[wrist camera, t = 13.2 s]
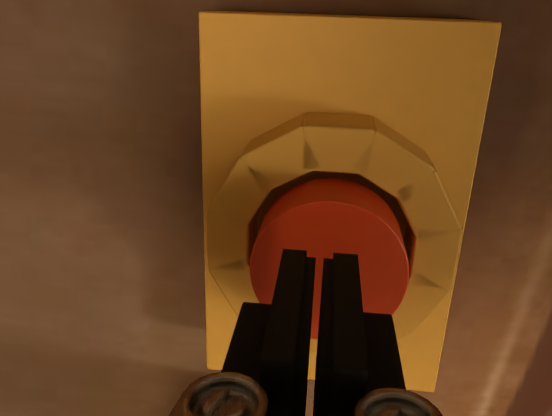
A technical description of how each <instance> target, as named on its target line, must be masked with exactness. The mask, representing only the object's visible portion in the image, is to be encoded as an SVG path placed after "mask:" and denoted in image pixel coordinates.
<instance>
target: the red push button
mask: <svg viewBox="0 0 552 416" xmlns="http://www.w3.org/2000/svg"><path fill="white" fill-rule="evenodd" d="M283 249H293V250H306V251H307V257H315V258H316V265H315V279H314V294H313V309H312V324H311V339H317V340H318V328H319V314H320V301H321V287H322V273H323V260H324V258H328V259H333V253H346V254H358V261H359V272H360V282H361V293H362V304H363V312H369V313H381V314H391V315H393V314H394V312H395V311H396V310H397V308H398V307H399V306H400V304H401V302H402V300H403V298H404V296H405V293H406V291H407V287H408V282H409V261H408V257H407V253H406V249H405V245H404V242H403V238H402V234H401V230H400V227H399V224H398V221H397V219H396V217H395V215H394V213H393V211H392V210H391V208H390V207H389V206H388V205H387V203H386V202H385V201H384V200H383V199H382V198H381V197H380V196H379V195H377V194H376V193H375V192H373V191H372V190H370V189H368V188H367V187H365V186H363V185H360V184H358V183H355V182H352V181H348V180H345V179H337V178H321V179H314V180H310V181H306V182H303V183H301V184H298V185H296V186H294V187H292V188H290V189H289V190H287V191H286V192H285V193H283V194H282V195H281V196H280V197H279V198H277V199H276V200H275V201H274V203H273V204H272V205H271V207H270V208H269V209H268V211H267V213H266V215H265V217H264V219H263V222H262V224H261V227H260V230H259V233H258V235H257V238H256V241H255V244H254V247H253V249H252V254H251V258H250V279H251V283H252V287H253V290H254V293H255V295H256V297H257V299H258V301H259V303H264V304H272V299H273V294H274V289H275V285H276V280H277V275H278V271H279V266H280V261H281V256H282V252H283Z"/></svg>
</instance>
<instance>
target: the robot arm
mask: <svg viewBox="0 0 552 416" xmlns="http://www.w3.org/2000/svg"><path fill="white" fill-rule="evenodd" d="M315 265H316V258H315V257H307V251H306V250H293V249H283V252H282V256H281V261H280V266H279V271H278V275H277V280H276V285H275V289H274V294H273V299H272V304H264V303H252V302H243V304H242V306H241V309H240V313H239V316H238V319H237V322H236V326H235V329H234V332H233V335H232V338H231V342H230V345H229V348H228V351H227V355H226V358H225V361H224V364H223V368H222V371H221V372H219V373H212V374H209V375H206V376H203V377H200V378H199V379H197V380H196V381H194V382H193V383H191V384H190V385H189V386H188V387H187V388H186V390H185V391H184V392H183V393H182V395H181V397H180V398H179V400H178V401H177V403H176V405H175V406H174V408H173V410H172V411H171V413H170V414H169V416H305V409H306V396H307V382H308V368H309V353H310V339H311V324H312V309H313V294H314V279H315ZM313 416H442V414H441V413H440V411H439V410H438V408H437V407H435V406H434V405H433V404H432V403H431V402H430V401H429V400H427V399H425V398H424V397H422V396H420V395H418V394H416V393H414V392H410V391H407V390H406V387H405V382H404V376H403V371H402V365H401V360H400V355H399V349H398V344H397V338H396V333H395V328H394V322H393V318H392V315H391V314H381V313H369V312H363V304H362V293H361V282H360V272H359V261H358V254H346V253H333V259H328V258H324V260H323V273H322V287H321V301H320V314H319V328H318V341H317V355H316V370H315V388H314V407H313Z"/></svg>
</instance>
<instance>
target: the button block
mask: <svg viewBox="0 0 552 416" xmlns="http://www.w3.org/2000/svg"><path fill="white" fill-rule="evenodd" d="M501 28H502V23H500V22H492V21H485V20H468V19H440V18H412V17H384V16H356V15H328V14H300V13H272V12H244V11H203V12H199V55H200V97H201V139H202V181H203V223H204V265H205V307H206V349H207V369H213V370H222V368H223V364H224V361H225V358H226V355H227V351H228V348H229V345H230V342H231V338H232V335H233V332H234V329H235V326H236V322H237V319H238V316H239V313H240V309H241V306H242V304H243V302H252V303H259V301H258V299H257V297H256V295H255V293H254V290H253V287H252V283H251V279H250V258H251V254H252V249H253V247H254V244H255V241H256V238H257V235H258V233H259V230H260V227H261V224H262V222H263V219H264V217H265V215H266V213H267V211H268V209H269V208H270V207H271V205H272V204H273V203H274V201H275V200H276V199H277V198H279V197H280V196H281V195H282V194H283V193H285V192H286V191H287V190H289V189H290V188H292V187H294V186H296V185H298V184H301V183H303V182H306V181H310V180H314V179H321V178H337V179H345V180H348V181H352V182H355V183H358V184H360V185H363V186H365V187H367V188H368V189H370V190H372V191H373V192H375V193H376V194H377V195H379V196H380V197H381V198H382V199H383V200H384V201H385V202H386V203H387V205H388V206H389V207H390V208H391V210H392V211H393V213H394V215H395V217H396V219H397V221H398V224H399V227H400V230H401V234H402V238H403V242H404V245H405V249H406V253H407V257H408V261H409V282H408V287H407V291H406V293H405V296H404V298H403V300H402V302H401V304H400V306H399V307H398V308H397V310H396V311H395V312H394V314H393V315H392V318H393V322H394V328H395V333H396V338H397V344H398V349H399V355H400V360H401V365H402V371H403V376H404V382H405V387H406V390H416V391H426V392H434V391H435V385H436V380H437V375H438V369H439V364H440V358H441V353H442V347H443V342H444V337H445V331H446V326H447V320H448V315H449V310H450V304H451V299H452V293H453V288H454V282H455V277H456V272H457V266H458V261H459V255H460V250H461V244H462V239H463V234H464V228H465V223H466V217H467V212H468V207H469V201H470V196H471V190H472V185H473V179H474V174H475V169H476V163H477V158H478V152H479V147H480V141H481V136H482V131H483V125H484V120H485V114H486V109H487V104H488V98H489V93H490V87H491V82H492V76H493V71H494V66H495V60H496V55H497V49H498V44H499V39H500V33H501ZM317 341H318V340H317V339H310V353H309V368H308V379H310V380H315V370H316V355H317Z"/></svg>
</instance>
